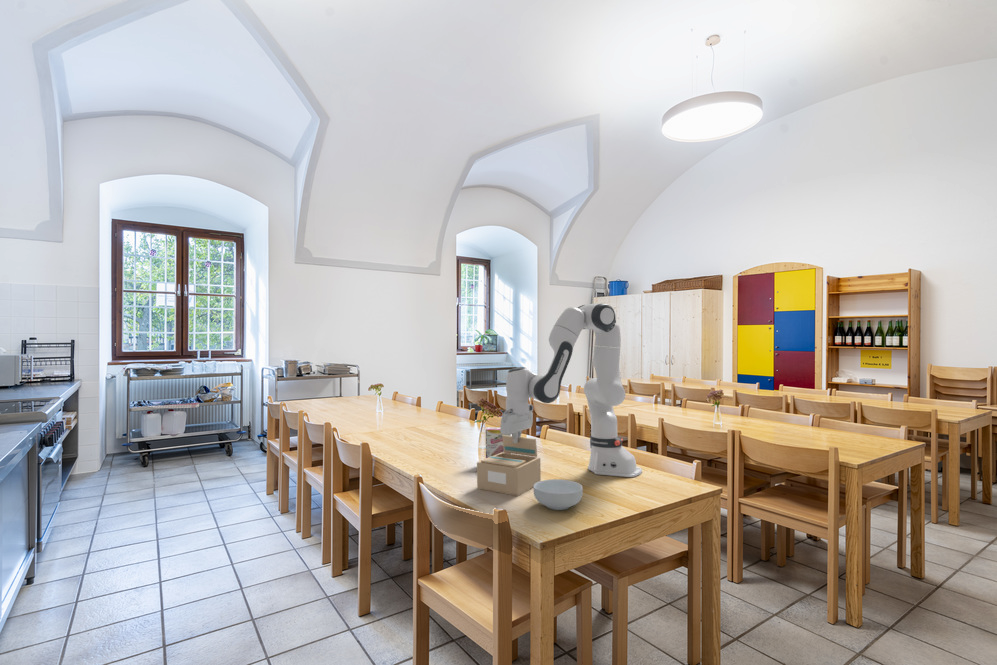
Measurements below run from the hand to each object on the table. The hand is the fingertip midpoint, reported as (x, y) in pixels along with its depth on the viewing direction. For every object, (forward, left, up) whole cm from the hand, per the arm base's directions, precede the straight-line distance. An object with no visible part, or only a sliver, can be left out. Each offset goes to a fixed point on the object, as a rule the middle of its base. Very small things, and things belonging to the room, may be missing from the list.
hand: (516, 442), depth 200 cm
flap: (0, +11, -5) cm, 12 cm away
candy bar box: (+20, -18, -16) cm, 31 cm away
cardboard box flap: (0, -2, -2) cm, 3 cm away
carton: (0, +6, -16) cm, 17 cm away
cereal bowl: (-26, +17, -16) cm, 35 cm away
